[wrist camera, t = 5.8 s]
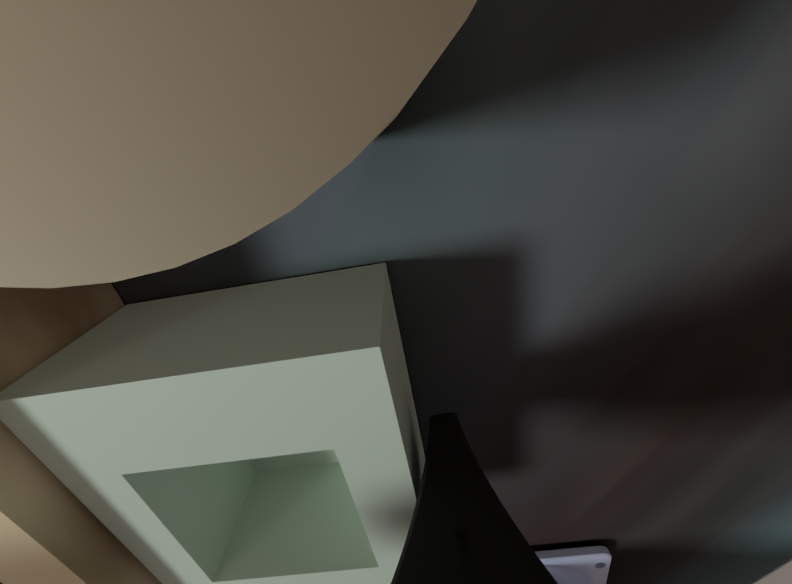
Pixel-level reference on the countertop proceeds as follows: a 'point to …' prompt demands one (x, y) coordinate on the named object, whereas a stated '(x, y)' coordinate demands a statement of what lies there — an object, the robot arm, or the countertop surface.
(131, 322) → the socket block
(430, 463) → the robot arm
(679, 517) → the countertop surface
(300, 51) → the dowel
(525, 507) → the countertop surface
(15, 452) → the oak wall
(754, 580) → the countertop surface
